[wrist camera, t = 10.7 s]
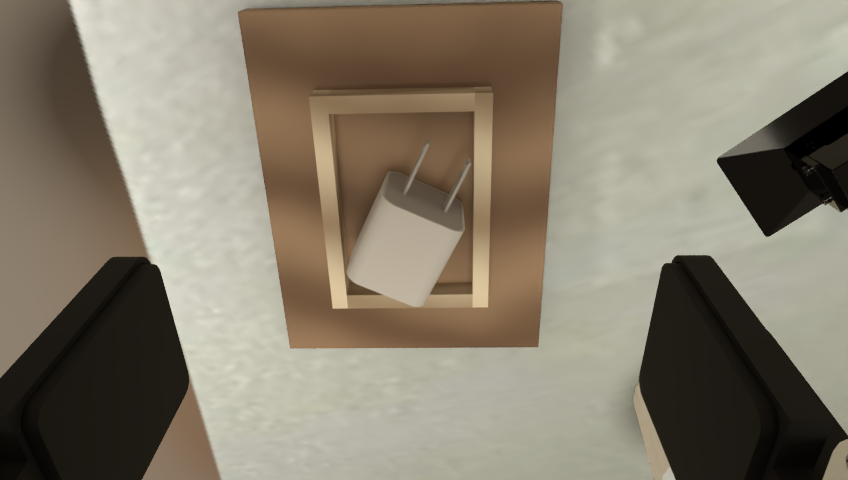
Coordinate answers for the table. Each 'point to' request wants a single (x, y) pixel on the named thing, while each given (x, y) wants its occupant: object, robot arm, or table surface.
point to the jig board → (407, 160)
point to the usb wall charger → (407, 237)
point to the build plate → (795, 161)
